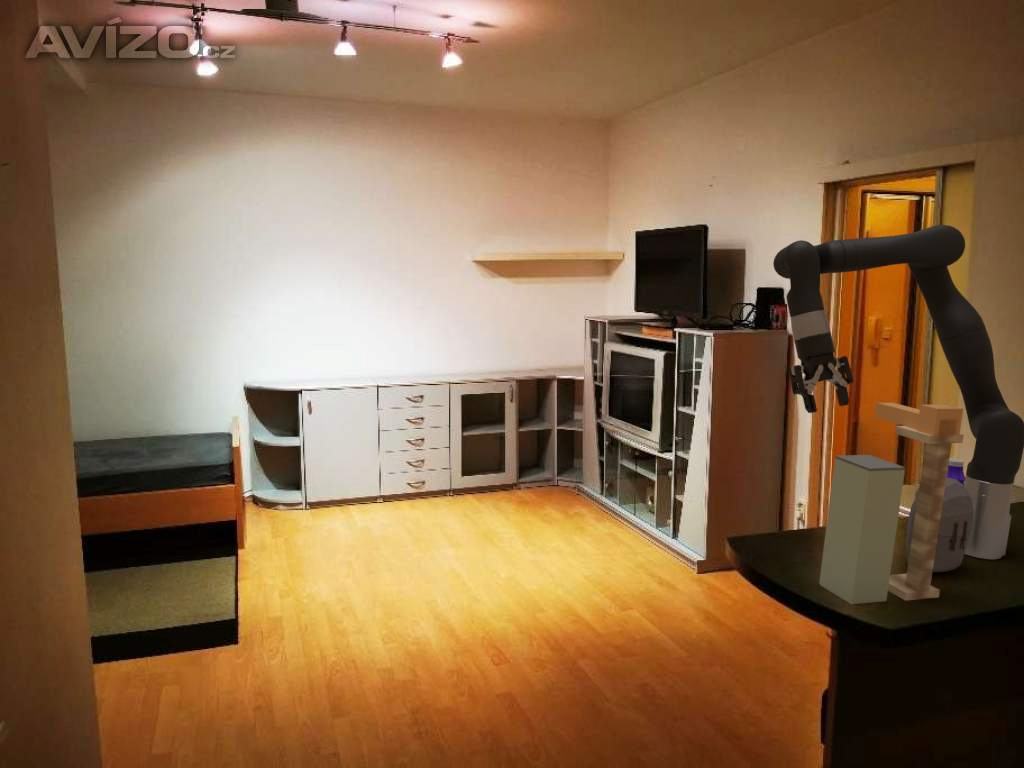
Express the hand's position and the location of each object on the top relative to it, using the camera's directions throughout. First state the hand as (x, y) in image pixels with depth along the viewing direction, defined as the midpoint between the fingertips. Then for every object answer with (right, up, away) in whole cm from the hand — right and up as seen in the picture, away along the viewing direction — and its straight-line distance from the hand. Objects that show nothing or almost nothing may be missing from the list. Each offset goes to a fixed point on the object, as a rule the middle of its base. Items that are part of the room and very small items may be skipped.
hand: (828, 409), depth 168 cm
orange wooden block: (+10, -3, -15) cm, 18 cm away
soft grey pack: (+22, -34, -2) cm, 40 cm away
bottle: (+39, -30, +26) cm, 56 cm away
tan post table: (+10, -35, -14) cm, 39 cm away
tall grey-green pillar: (-2, -35, -16) cm, 38 cm away
